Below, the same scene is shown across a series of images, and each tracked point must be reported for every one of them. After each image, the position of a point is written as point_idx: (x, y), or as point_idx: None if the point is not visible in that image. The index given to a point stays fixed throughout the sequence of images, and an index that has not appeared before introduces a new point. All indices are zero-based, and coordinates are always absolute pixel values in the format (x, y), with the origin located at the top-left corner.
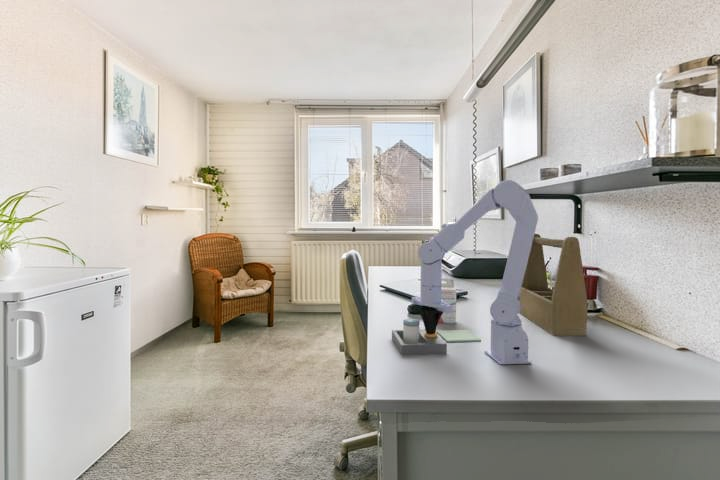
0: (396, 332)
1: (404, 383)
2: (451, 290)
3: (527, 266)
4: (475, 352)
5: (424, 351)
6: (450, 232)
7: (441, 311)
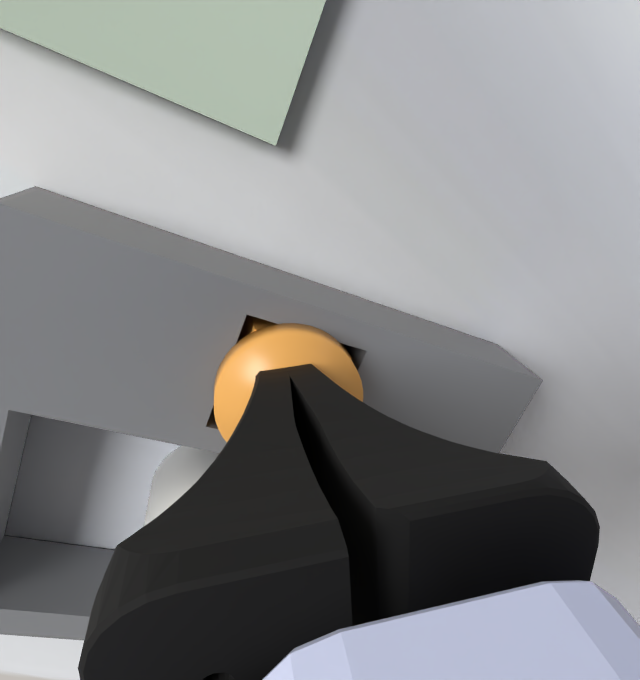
0: (28, 613)
1: None
2: None
3: None
4: (629, 104)
5: None
6: None
7: (578, 549)
